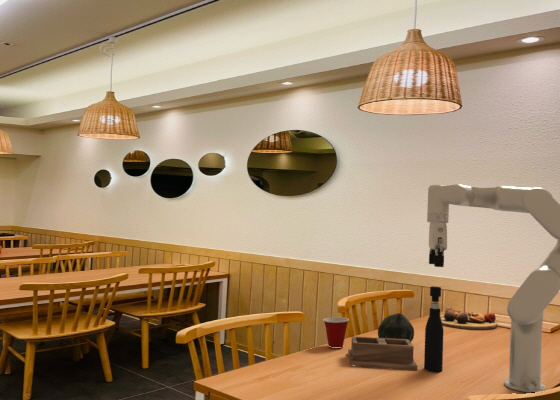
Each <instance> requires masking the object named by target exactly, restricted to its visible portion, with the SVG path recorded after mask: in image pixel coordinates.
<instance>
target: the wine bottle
mask: <svg viewBox="0 0 560 400" xmlns="http://www.w3.org/2000/svg"><path fill="white" fill-rule="evenodd" d="M429 296H430V297H431V302H430V306H429V307H430V308H429V316H428V318H427V321H426V325H425V329H424V355H423V356H424V357H423V358H424V359H423V360H424V361H423V363H424V364H423V369H424V370H425V371H427V372H431V373H441V372H443V366H444V365H443V361H444V360H443V359H444V357H443V356H444V326H443V324H442V321H441V317H440V315H441V306H440V305H441V304H440V303H439V302H440V297H441V296H442V287H441V286H430V287H429Z"/></svg>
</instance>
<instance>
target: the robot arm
mask: <svg viewBox="0 0 560 400" xmlns="http://www.w3.org/2000/svg"><path fill="white" fill-rule="evenodd" d="M450 205H453V206H461V207H471V208H472V207H473V208H481V209H482V208H483V209H492V210H494V211H501V212H504V211H505V212H511V213H512V212H513V213H524V214H530V215H531V217H533V219H534V220H535V221H537V222H538V224H539V225H540V226H541V227H542V228H543V229H544V230H545V231H546V232H547V233H548V234H549V235H550V236H551V237H552V238H554V239H555V240H556V241H557V242H556V243H555V244H556V245H555V246H554V248H552V250H551V251H550V252H549V254H548V255H547V257H546V258H545V260H543V262H542V263H541V264H540V265H539V266H538V267H537V268H536V269H534V270H532V271H531V273H530V274H529V275H528V276H527V277H526V278H525V280H524V281H523V282H522V284H521V285H520V286H519V288H517V290H516V291H515V293H514V294H513V295H512V297H511V298H510V299H509V301H508V303H507V306H506V312H507V314H508V317H509V318H510V319H511V320H510V334H509V335H510V336H509V337H510V339H509V366H508V367H509V369H508V370H509V371H508V372H509V373H508V374H509V376H508V377H507V378H505V379H504V380H503V384H504V386H506V387H507V388H508V389H511V390H513V391H517V392H523V393H529V394H532V393H531V392H538V391H543V390H545V391H546V390H547V389H546V385H545V384H543V383H542V382H541V381H542V380H541V379H542V377H541V375H542V372H541V370H542V343H543V340H542V339H543V324H544V323H543V321H544V311H545V310H546V309H547V308H548V306H549V305H550V304H551V302H552V301H554V298H555V297H556V296H557V295H558V294H559V292H560V203H559V202H558V201H557V200H556V199H555V198H554V197H553V195H552V193H551V192H550V191H549V190H547V189H545V188H543V187H521V186H520V187H518V186H517V187H516V186H507V185H499V186H495V187H493V186H492V187H485V186H484V187H483V186H472V185H471V186H470V185H463V184H461V183H458V184H448V185H447V184H446V185H445V184H432V185H429V186H428V189H427V212H426V213H427V214H426V222H427V223H429V227H428V229H429V230H428V231H429V232H428V247H429V253H428V254H429V255H428V264H429V265H434V267H435V268H444V267H445V251H447V249H448V229H447V228H448V227H447V224H448V223H449V220H450V219H449V217H450V216H449V215H450V214H449V213H450Z"/></svg>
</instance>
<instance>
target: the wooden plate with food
mask: <svg viewBox="0 0 560 400" xmlns="http://www.w3.org/2000/svg"><path fill="white" fill-rule="evenodd" d="M440 317H441V321H442V324H443V327H448V328H453V329H460V330H461V329H462V330H471V331H472V330H474V331H475V330H477V331H478V330H479V331H481V330H492V329H495V328H497V327H498V322H497V321H496V314H495V313H494V312H492V311H491V312H487V313H486V314H484V316H483V314H482V313H479V312H475V313H469V312H468V313H466V312H465V311H463V310H462V311H457V312H455V310H454V309H453V307H450V308H446V310H445V311H444V314H440Z"/></svg>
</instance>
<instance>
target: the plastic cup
mask: <svg viewBox="0 0 560 400" xmlns="http://www.w3.org/2000/svg"><path fill="white" fill-rule="evenodd" d="M322 321H323V322H324V325H325V331H326V332H325V333H326V338H327V345H329V346H331V347H342V348H343V347H344V344H345V343H344V342H345V338H346V334H347V333H346V332H347V329H348V323H349V321H350V319H349V318H347V317H326V318H323V319H322ZM329 346H328V347H329Z"/></svg>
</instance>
